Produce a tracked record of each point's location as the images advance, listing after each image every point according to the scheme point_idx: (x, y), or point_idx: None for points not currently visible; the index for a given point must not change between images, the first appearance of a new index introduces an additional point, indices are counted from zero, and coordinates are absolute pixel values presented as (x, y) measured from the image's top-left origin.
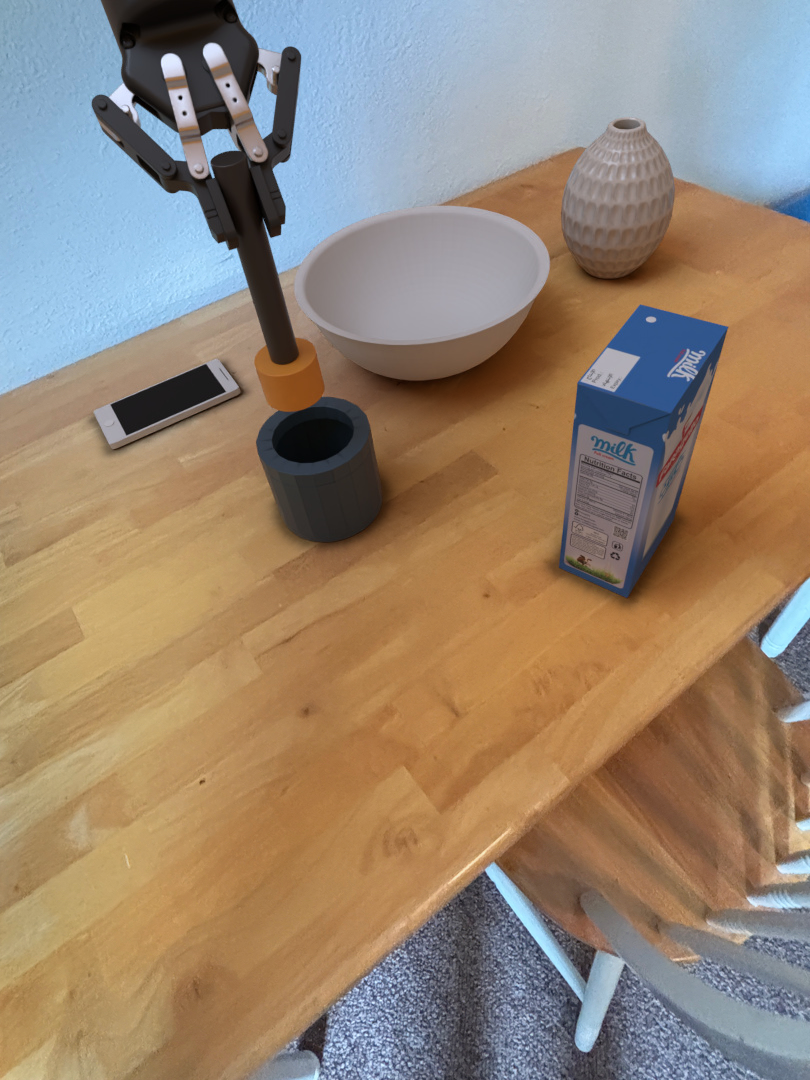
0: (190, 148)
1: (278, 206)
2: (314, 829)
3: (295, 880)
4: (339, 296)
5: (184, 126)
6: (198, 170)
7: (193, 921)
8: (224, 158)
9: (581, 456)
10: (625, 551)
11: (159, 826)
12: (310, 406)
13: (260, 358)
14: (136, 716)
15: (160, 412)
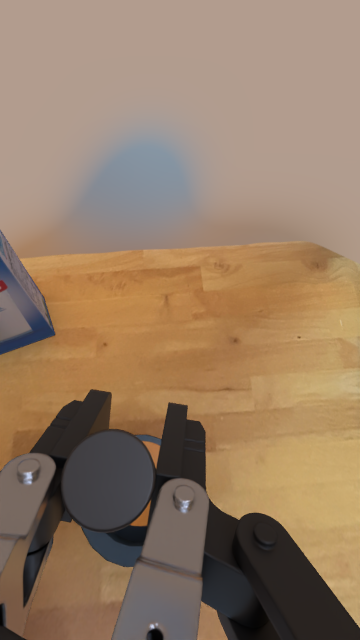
0: (182, 550)
1: (74, 411)
2: (254, 289)
3: (269, 276)
4: None
5: (178, 589)
6: (188, 488)
7: (314, 285)
8: (115, 482)
9: (12, 271)
10: (31, 281)
11: (324, 328)
12: (116, 543)
13: None
14: (329, 394)
15: None
